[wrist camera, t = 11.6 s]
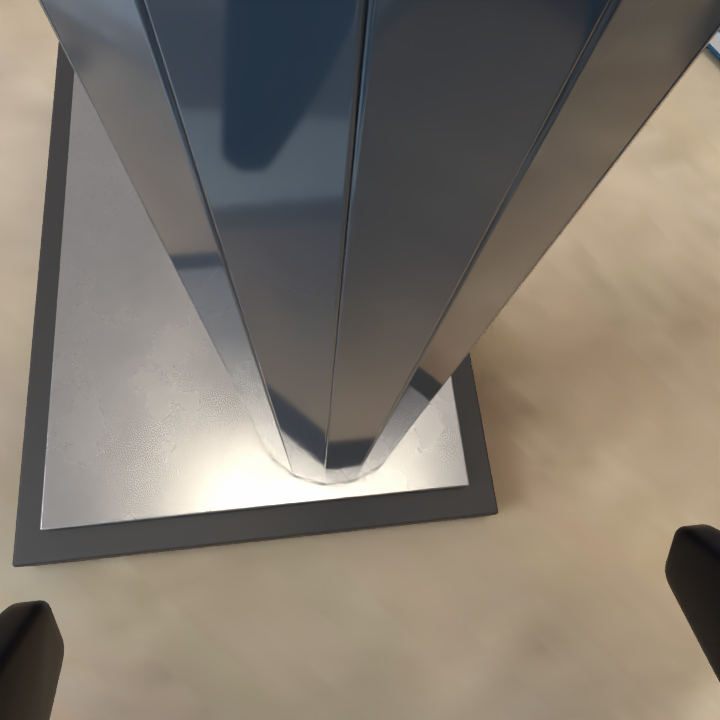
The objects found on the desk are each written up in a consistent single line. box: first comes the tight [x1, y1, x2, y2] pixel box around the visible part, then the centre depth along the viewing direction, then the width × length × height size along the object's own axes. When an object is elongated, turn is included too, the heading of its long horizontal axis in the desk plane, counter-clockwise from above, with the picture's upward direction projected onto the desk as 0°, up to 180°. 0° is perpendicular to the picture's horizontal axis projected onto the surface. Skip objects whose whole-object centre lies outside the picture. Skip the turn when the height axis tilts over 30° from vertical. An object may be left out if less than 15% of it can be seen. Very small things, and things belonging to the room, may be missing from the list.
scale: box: [13, 42, 498, 567], centre depth 22 cm, size 22×16×2 cm
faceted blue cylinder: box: [38, 0, 720, 483], centre depth 11 cm, size 5×5×18 cm
